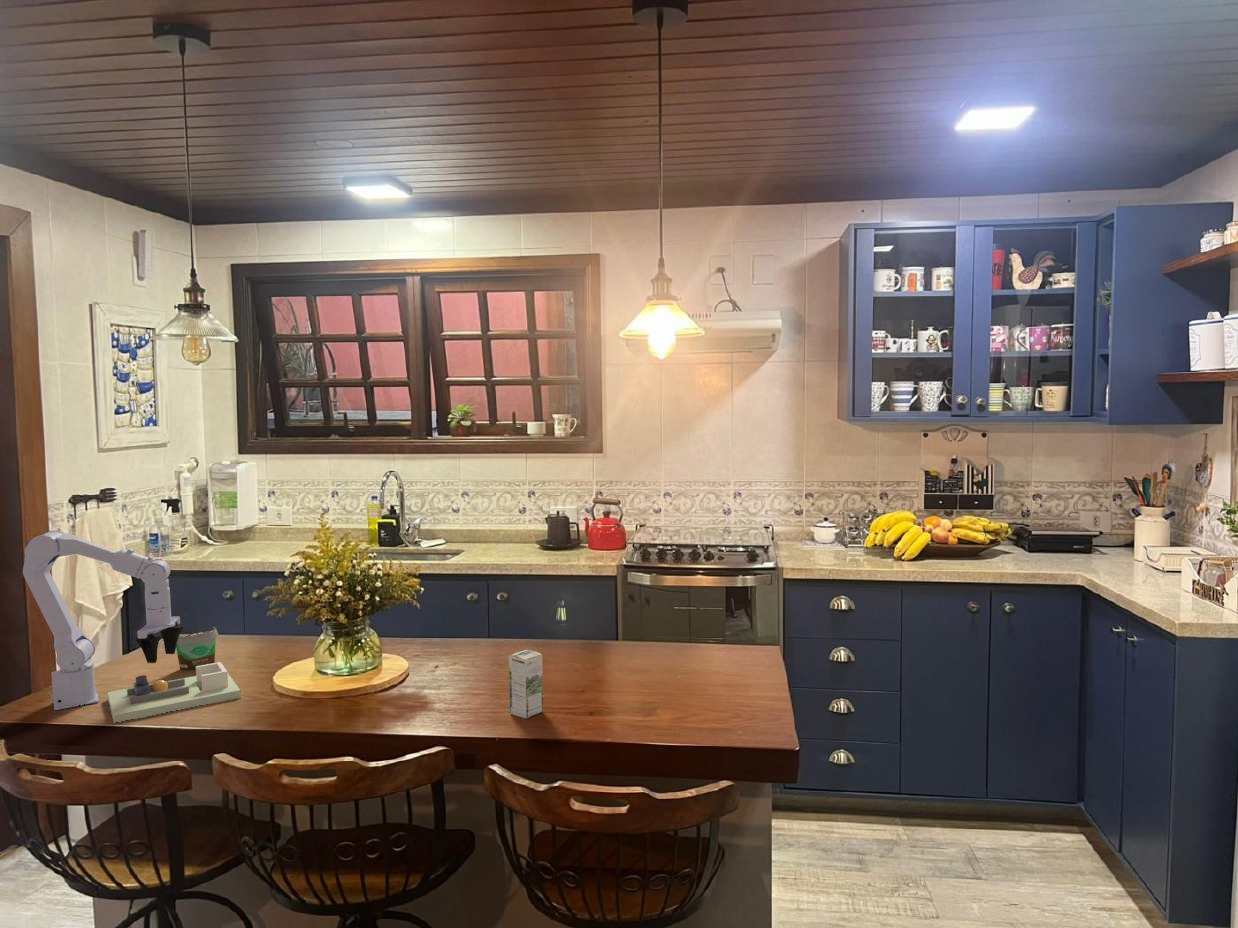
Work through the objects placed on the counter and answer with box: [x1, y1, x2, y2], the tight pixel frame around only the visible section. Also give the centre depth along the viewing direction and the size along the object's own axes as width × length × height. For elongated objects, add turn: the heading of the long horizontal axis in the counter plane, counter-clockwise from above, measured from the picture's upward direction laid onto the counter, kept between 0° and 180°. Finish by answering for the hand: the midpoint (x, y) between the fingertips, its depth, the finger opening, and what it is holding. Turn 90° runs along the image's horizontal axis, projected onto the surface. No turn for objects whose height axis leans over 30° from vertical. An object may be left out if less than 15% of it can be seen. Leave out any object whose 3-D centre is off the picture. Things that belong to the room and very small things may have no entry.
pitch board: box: [107, 671, 242, 724], centre depth 217 cm, size 28×20×4 cm
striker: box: [133, 675, 150, 696], centre depth 213 cm, size 3×6×5 cm, turn 35°
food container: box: [175, 626, 219, 671], centre depth 243 cm, size 12×6×10 cm, turn 143°
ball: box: [152, 679, 168, 693], centre depth 215 cm, size 4×4×4 cm
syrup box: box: [508, 649, 544, 720], centre depth 201 cm, size 6×6×14 cm
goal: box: [195, 661, 229, 691], centre depth 222 cm, size 6×10×4 cm, turn 34°
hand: (161, 658), depth 221 cm, fingers open, 7 cm apart
